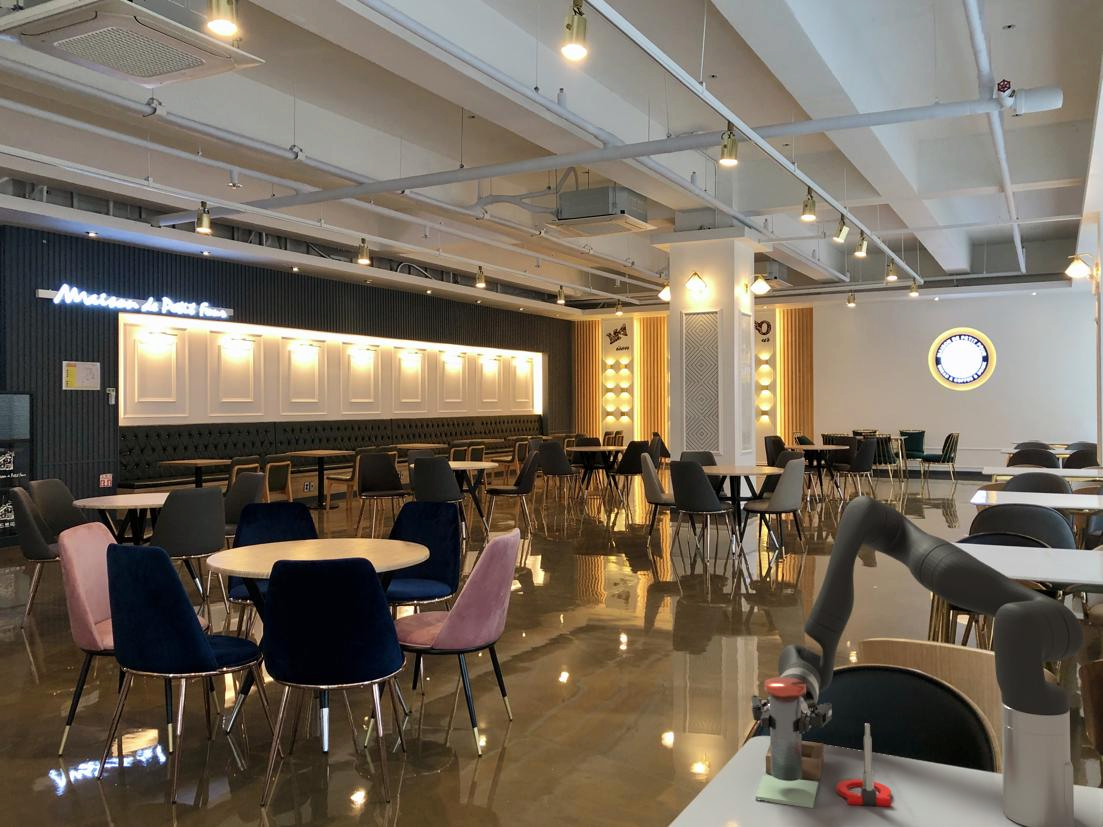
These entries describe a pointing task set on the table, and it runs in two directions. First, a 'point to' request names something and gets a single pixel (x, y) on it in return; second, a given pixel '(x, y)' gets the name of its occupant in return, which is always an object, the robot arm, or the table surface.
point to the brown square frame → (806, 760)
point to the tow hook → (866, 782)
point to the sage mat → (787, 791)
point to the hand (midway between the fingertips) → (783, 726)
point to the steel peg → (785, 727)
